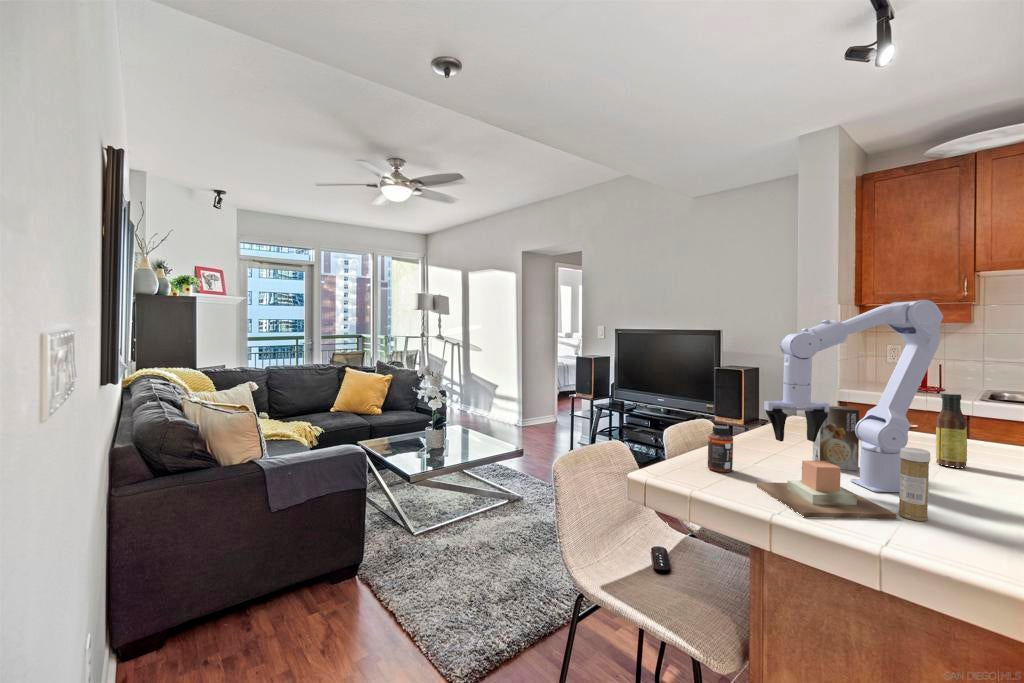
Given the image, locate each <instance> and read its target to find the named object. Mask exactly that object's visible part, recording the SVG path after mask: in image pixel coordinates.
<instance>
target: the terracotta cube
mask: <svg viewBox="0 0 1024 683" xmlns="http://www.w3.org/2000/svg"><path fill="white" fill-rule="evenodd" d="M841 470H842V469H841V468H840V467H838V466H836V465H834V464H831V463H829V462H827V461H812V460H802V461H801V481H802V484H804V485H806V486H808V487H810V488H811V489H813V490H815V491H840V487H841V474H842V473H841Z"/></svg>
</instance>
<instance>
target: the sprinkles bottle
mask: <svg viewBox="0 0 1024 683" xmlns="http://www.w3.org/2000/svg"><path fill="white" fill-rule="evenodd" d="M900 457H901V458H900V459H901V472H900V490H899V492H898V493H899V494H898V495H899V496H898V498H899V503H898V505H899V506H898V509H899V510H898V512H897V513H898V515H899V516H901V517H902V518H905V519H908V520H911V521H917V522H925V521H928V519H929V516H928V506H929V493H930V491H929V489H930V488H929V482H930V481H929V476H930V475H929V473H930V472H929V468H930V466H929V465H930V462H931V452H930V451H928V450H926V449H922V448H917V447H909V446H908V447H907V446H905V447H904V448H901V449H900Z"/></svg>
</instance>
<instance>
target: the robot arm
mask: <svg viewBox="0 0 1024 683" xmlns="http://www.w3.org/2000/svg"><path fill="white" fill-rule="evenodd" d="M943 319H944V315H943V313H942V312H941V309H940V308H939V306H938V305H937V304H936V303H935V302H934V301H931V300H929V299H919V300H912V301H895V302H891V303H890V304H885V305H884V304H883V305H880V306H878V307H875V308H873V309H870V310H868V311H866V312H863V313H861V314H858V315H855V316H854V317H851V318H848V319H846V320H844V321H838V320H835V319H831V320H830V319H824V320H821V321H820V324H818V325H814V326H813V327H810V328H808V327H805V328H802V329H801V330H800V331H801V332H800V333H789V334H788V335H786V336H784V338H783V339H782V341H781V343H780V344H779V350H780V352H781V353H782V354H783V355H784V356H783V358H784V359H783V381H782V382H783V386H782V400H769V401H766V400H765V401H763V402H764V403H763V409H764V410H765V413H766V415H767V416H768V419H769V421H770V423H771V426H772V429H773V432H774V436H775V440H776V441H779V442H784V439H785V425H786V420H787V417H788V414H787V413H784V411H804V415H805V420H806V439H807V441H810V442H812V443H813V442H815V441H816V438H817V435H818V432H819V430H820V427H821V426H822V424H823V422H824V421H825V420H826V418H827V417H828V413H826V412H824V411H829V406H830V403H829V402H826V401H812V400H811V399H812V376H813V374H812V373H813V372H812V368H813V357H814V356H816V354H817V353H818V352H820V351H823V350H826V349H829V348H832V347H834V346H838V345H840V344H843V343H845V342H846V340H847V339H848V336H849V335H851V334H856V333H859V332H861V331H864V330H867V329H870V328H874V327H877V326H879V325H887V326H888V327H889V328H890V329H892V330H893V331H894V332H895V333H896V334H898V335H899V336H900V337H901V339H902V341H903V342H904V343H905V347H904V348H903V350H902V353H901V355H900V357H899V359H898V362H897V363H896V366H895V368H894V370H893V371H892V373H891V376H890V378H889V380H888V382H887V384H886V386H885V388H884V390H883V393H882V395H881V397H880V399H879V401H878V403H877V404H876V405H875V406H874V407H872V408H870V409H868V410H867V411H866V413H865V416H864V417H862V418H861V419H859V422H858V423H857V424H856V427H855V433H856V436H857V437H858V439H859V441H860V458H859V460H860V461H859V462H860V463H859V465H860V466H859V478H851V479H850V482H852V483H854V484H857V485H858V486H861V487H863V488H864V489H867V490H870V491H872V492H874V493H899V490H900V472H901V459H900V458H901V457H900V449H901V448H904V447H907V444H908V442H909V434H908V433H909V430H910V427H911V423H910V422H909V419H908V418H907V413H908V411H909V409H910V406H911V404H912V402H913V400H914V398H915V396H916V394H917V392H918V390H919V388H920V386H921V384H922V381H923V380H924V378H925V375H926V373H927V372H928V369H929V366H930V365H931V362H932V361H933V359H934V356H936V355H935V354H936V352H937V350H938V349H939V346H940V325H941V323H942V321H943Z"/></svg>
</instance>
